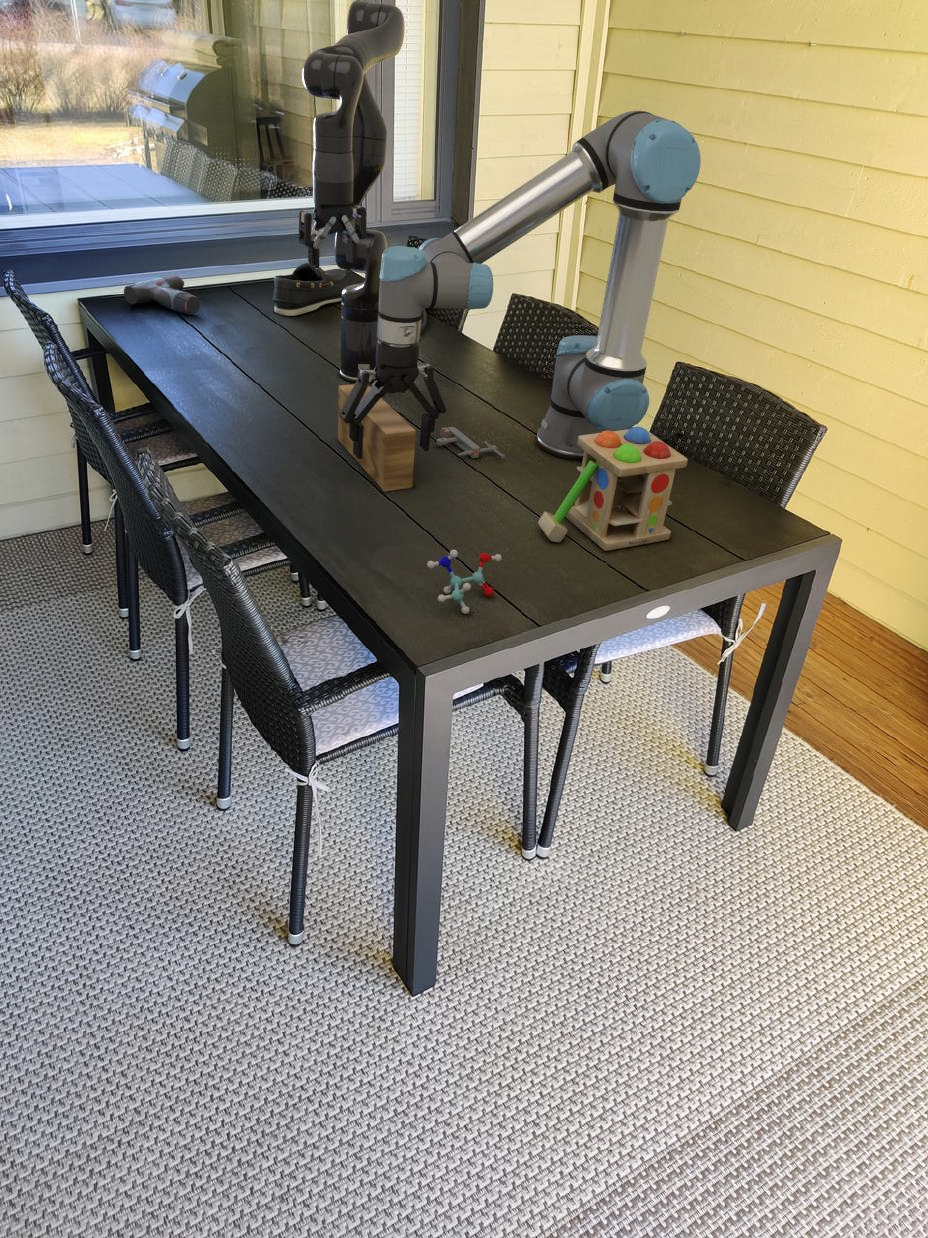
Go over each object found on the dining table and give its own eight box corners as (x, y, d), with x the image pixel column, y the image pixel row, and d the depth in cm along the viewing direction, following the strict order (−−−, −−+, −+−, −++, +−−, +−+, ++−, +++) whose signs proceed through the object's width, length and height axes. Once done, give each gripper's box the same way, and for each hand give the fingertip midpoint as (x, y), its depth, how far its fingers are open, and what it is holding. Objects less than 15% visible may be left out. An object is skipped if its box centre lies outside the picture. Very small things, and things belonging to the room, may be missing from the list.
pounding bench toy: (563, 559, 168) (578, 464, 158) (523, 521, 178) (535, 429, 168) (671, 539, 177) (692, 448, 167) (627, 503, 188) (644, 416, 178)
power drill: (228, 285, 263) (174, 269, 271) (176, 299, 250) (121, 282, 258) (229, 305, 266) (176, 289, 274) (178, 320, 253) (123, 303, 261)
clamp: (428, 429, 204) (470, 423, 208) (427, 439, 205) (469, 432, 209) (464, 459, 193) (507, 451, 198) (463, 469, 194) (506, 461, 199)
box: (337, 439, 201) (338, 385, 195) (364, 436, 204) (365, 382, 197) (384, 491, 184) (386, 434, 177) (412, 487, 186) (415, 430, 180)
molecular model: (493, 609, 147) (472, 545, 146) (437, 624, 151) (416, 563, 149) (514, 592, 158) (494, 533, 156) (461, 607, 161) (442, 549, 160)
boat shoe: (367, 296, 285) (368, 259, 280) (292, 317, 262) (291, 278, 256) (333, 288, 291) (332, 251, 286) (256, 308, 267) (254, 269, 262)
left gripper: (312, 183, 177) (313, 274, 187) (375, 177, 185) (373, 265, 195) (289, 174, 182) (291, 263, 191) (352, 169, 190) (351, 255, 199)
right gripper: (339, 352, 164) (335, 468, 176) (470, 343, 175) (459, 452, 186) (323, 337, 169) (321, 450, 181) (452, 329, 180) (442, 437, 192)
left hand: (333, 264), depth 193 cm, fingers open, 8 cm apart
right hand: (391, 452), depth 184 cm, fingers open, 13 cm apart
